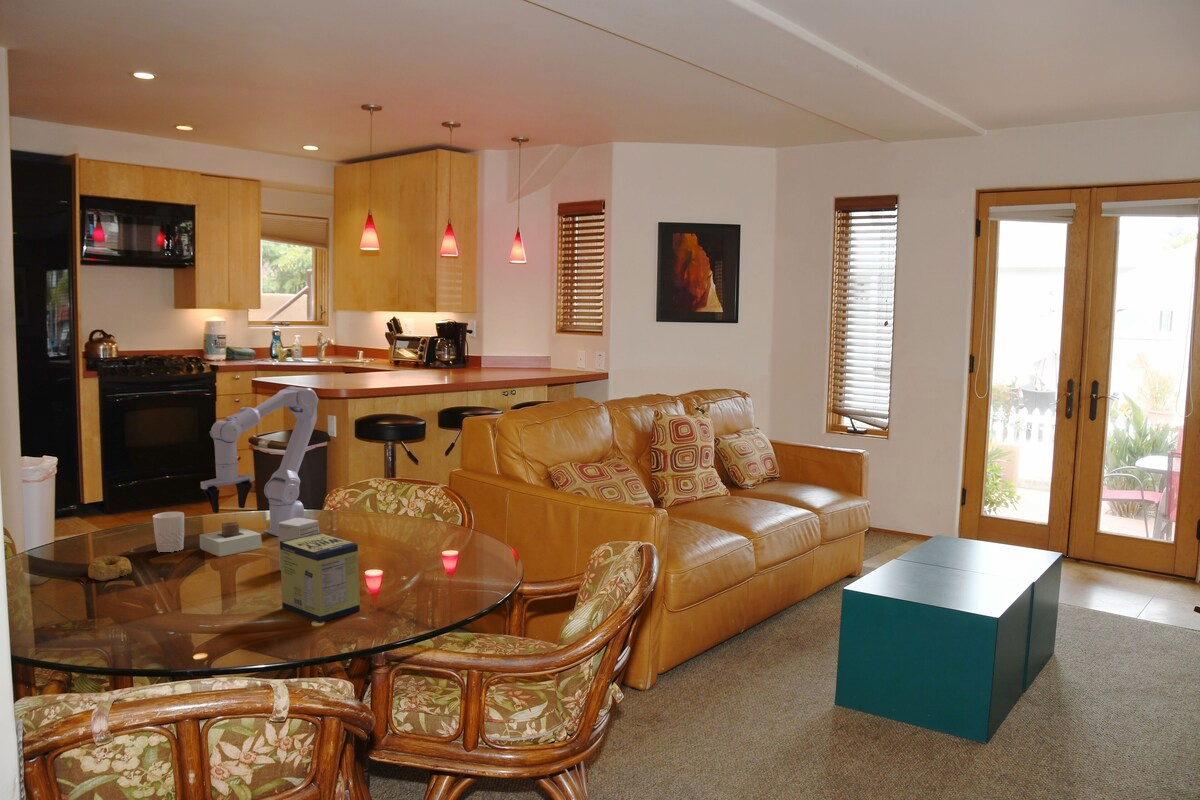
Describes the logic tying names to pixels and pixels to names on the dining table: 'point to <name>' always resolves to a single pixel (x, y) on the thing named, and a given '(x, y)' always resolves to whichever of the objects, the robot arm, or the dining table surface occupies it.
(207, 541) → the socket block
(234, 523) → the peg
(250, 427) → the robot arm
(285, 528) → the supplement box
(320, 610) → the protein box
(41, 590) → the dining table surface
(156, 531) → the white cup
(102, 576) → the bagel
